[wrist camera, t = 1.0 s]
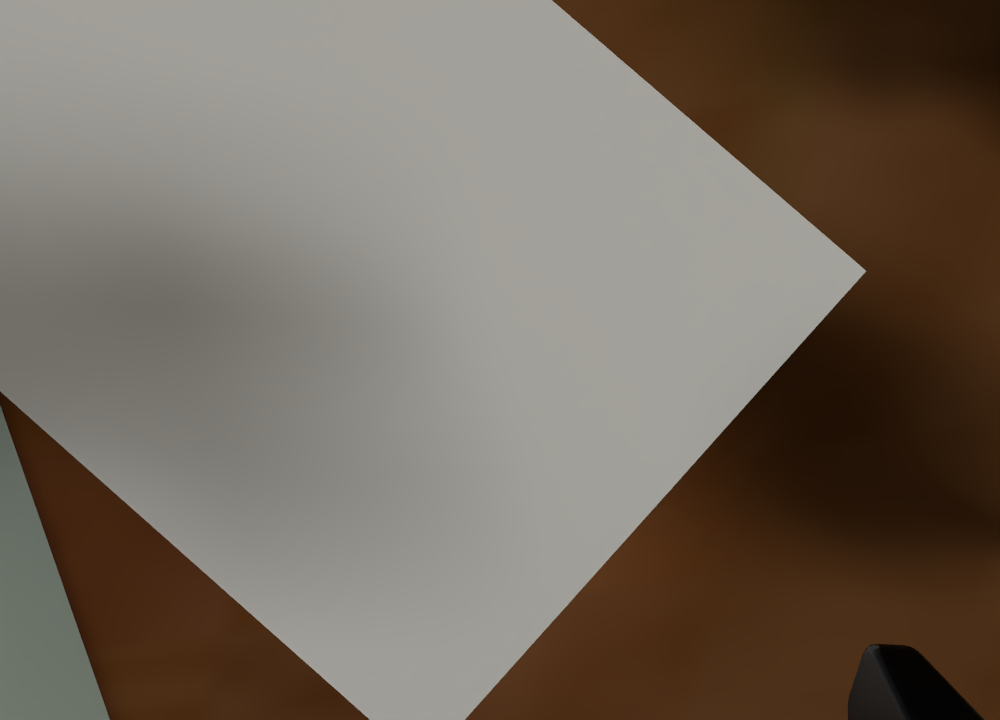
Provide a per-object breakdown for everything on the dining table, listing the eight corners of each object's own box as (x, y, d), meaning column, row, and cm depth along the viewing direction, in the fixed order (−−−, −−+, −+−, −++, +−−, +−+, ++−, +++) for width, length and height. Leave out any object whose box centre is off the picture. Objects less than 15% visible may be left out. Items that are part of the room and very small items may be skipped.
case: (451, 666, 22) (422, 766, 17) (-44, 228, 22) (-219, 196, 17) (790, 286, 21) (866, 270, 16) (273, -160, 21) (188, -312, 16)
